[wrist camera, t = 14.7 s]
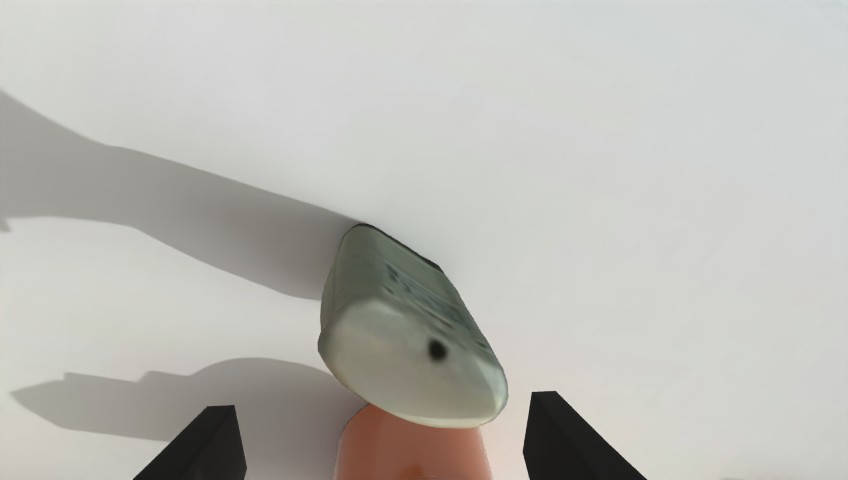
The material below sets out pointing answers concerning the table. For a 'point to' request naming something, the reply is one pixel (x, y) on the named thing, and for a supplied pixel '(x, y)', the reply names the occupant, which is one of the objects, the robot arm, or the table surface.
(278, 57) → the table surface
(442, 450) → the plant
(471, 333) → the pale green rounded block
